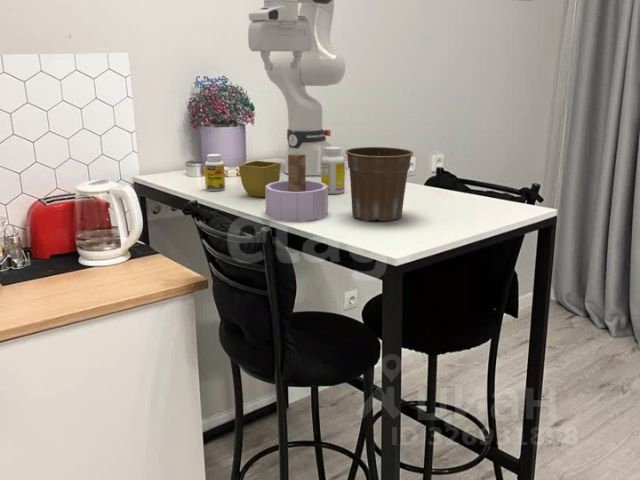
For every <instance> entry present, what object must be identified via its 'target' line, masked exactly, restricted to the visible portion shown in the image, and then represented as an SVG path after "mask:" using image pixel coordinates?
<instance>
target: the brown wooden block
mask: <svg viewBox="0 0 640 480" xmlns="http://www.w3.org/2000/svg"><path fill="white" fill-rule="evenodd" d="M287 175H288V177H287V179H288V192H304V191H306V179H307V178H306V155H305V154H298V153H295V154H289V155H288V174H287Z"/></svg>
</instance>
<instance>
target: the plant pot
mask: <svg viewBox="0 0 640 480" xmlns="http://www.w3.org/2000/svg"><path fill="white" fill-rule="evenodd" d="M345 154H346V156H347V157H346V158H347V169H349V177H350V181H349V182H350V196H351V198H350V199H351V214H352V217H354V218H356V219H358V220H362V221H369V222H374V221H376V220H378V221H380V222H392V221H397V220H399V219H401V218H402V214H403V208H404V207H403V206H404V201H405V191H406V187H407V178H408V173H409V172H408V171H409V170H410V167H411V159H412V156H413V155H414V151H412V150H409V149H406V148H400V147H399V148H398V147H389V146H386V147H384V146H365V147H364V146H363V147H361V146H360V147H351V148H348V149H346V150H345Z"/></svg>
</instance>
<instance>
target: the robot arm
mask: <svg viewBox="0 0 640 480" xmlns="http://www.w3.org/2000/svg"><path fill="white" fill-rule="evenodd" d="M299 4H301V5H300V8H299ZM334 6H335V0H263V6H262V7H260V8H257V9H255V10H251V11H250V12H249V13H248V19H249V21H251V22H249V25H248V29H247V31H248V33H247V39H248V41H247V44H248V48H249V50H250V51H251V52H260V58H261V60H262V62H263V64H264V67H263V68H264V70H265V71H266V75H267V77H268V79H269V80H270V81H271V82H272V83H273V84H274V85H275V87H277V88H278V89H279V90H280V92H281V94H282V95H283V97H284V99H285V102H286V106H287V119H288V129H287V130H286V131H287V132H286V139H287V143H288V144H287V147H286V148H287V149H286V157H285V158H286V159H285V165H284V167H283V168H284V170H283V173H284V174H287V175H288V155H289V154H295V153H298V154H305V155H306V176H319V177H320V176H321V160H322V158H323V157H324V156H325V154H326V153H325V147H334V146H333V145H332V144H330V142H328V141H327V137H330V136H331V135H332V131H331V129H323V106H322V104H321V103H320V101H319V100H317V99H316V98H314V97H312V96H311V95H309V94H308V92H307V89H306V87H308V86H310V87H312V86H313V87H327V86H332V85H338V84H339V83H340V82H341V81H342V80H343V79H344V77H345V72H346V63H345V60H344V58H343V57H342V55H341V54H340V52H338V51H337V50H335V49H334V47H333V46H332V43H331V39H330V38H331V37H330V36H331V30H332V22H333V17H334V8H335V7H334ZM271 52H272V53H271ZM326 136H327V137H326ZM346 170H348V165H345V171H346Z"/></svg>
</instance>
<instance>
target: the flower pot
mask: <svg viewBox="0 0 640 480" xmlns="http://www.w3.org/2000/svg"><path fill="white" fill-rule="evenodd" d="M281 165H282V163H281V162H278V161H277V162H275V161H264V160H253V161H249V162H245V163H241V164H238V170H239V176H240V180H241V185H242V187H243V189H244V190H245V192H246V194H247V195H248V196H249V197H258V198H265V186H266V185H268V184H269V183H273V182H278V181H280V176H281Z"/></svg>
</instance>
